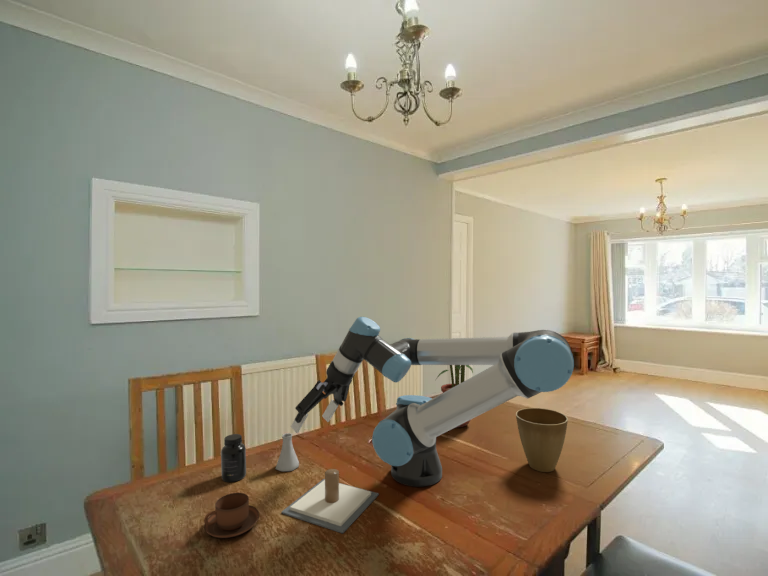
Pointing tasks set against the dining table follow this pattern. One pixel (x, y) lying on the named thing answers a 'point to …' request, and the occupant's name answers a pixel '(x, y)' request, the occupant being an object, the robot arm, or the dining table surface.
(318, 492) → the board
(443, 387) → the potted plant
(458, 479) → the dining table surface
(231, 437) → the supplement bottle
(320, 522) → the mat
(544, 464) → the plant pot
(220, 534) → the cup and saucer
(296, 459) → the flask
